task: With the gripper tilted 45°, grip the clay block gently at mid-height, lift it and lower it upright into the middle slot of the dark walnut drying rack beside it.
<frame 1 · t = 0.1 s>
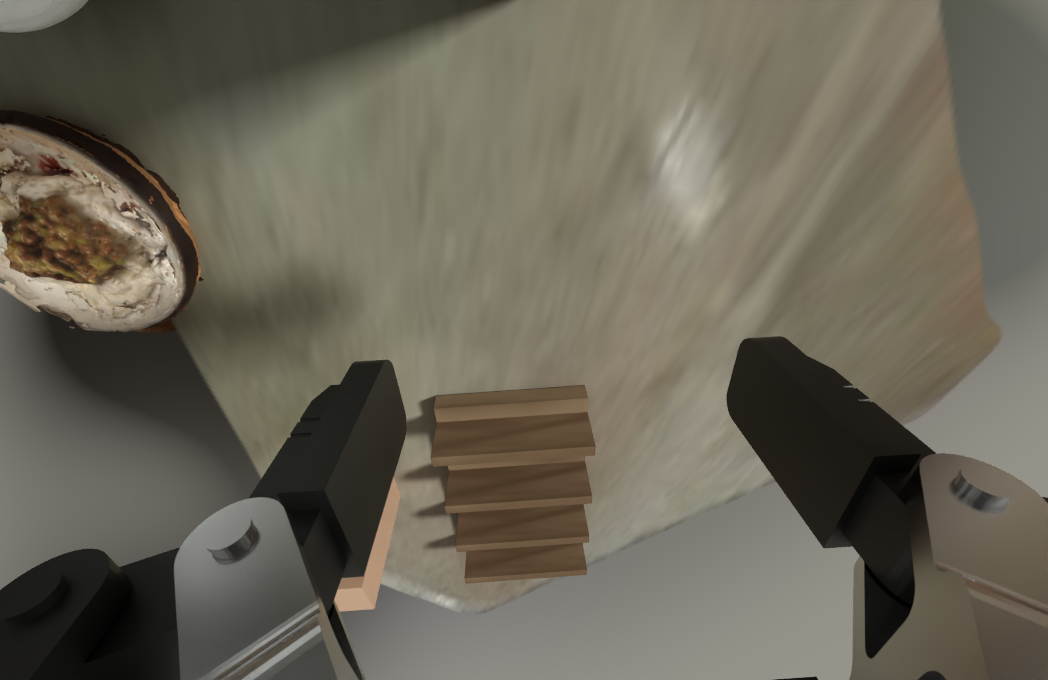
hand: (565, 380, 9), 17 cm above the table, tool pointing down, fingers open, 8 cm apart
walnut rack: (518, 476, 39), on the table
pie: (97, 224, 24), on the table
clay block: (373, 486, 39), on the table
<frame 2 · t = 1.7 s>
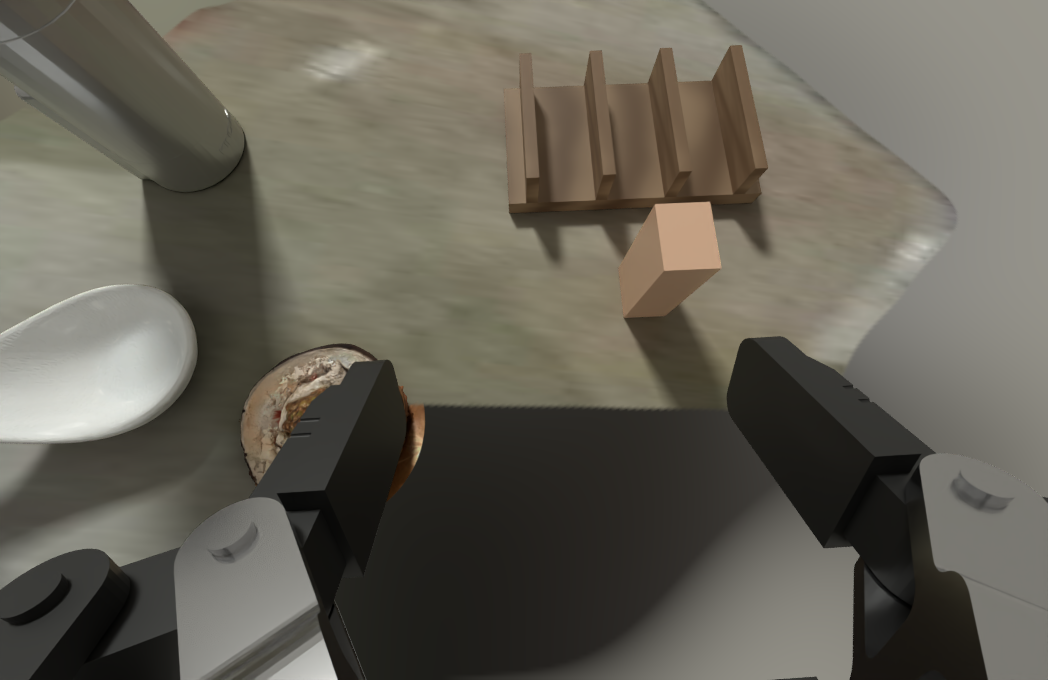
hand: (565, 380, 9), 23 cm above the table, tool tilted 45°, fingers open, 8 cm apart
walnut rack: (624, 150, 38), on the table
spoon rest: (81, 400, 33), on the table
pie: (333, 426, 33), on the table
clay block: (641, 291, 35), on the table
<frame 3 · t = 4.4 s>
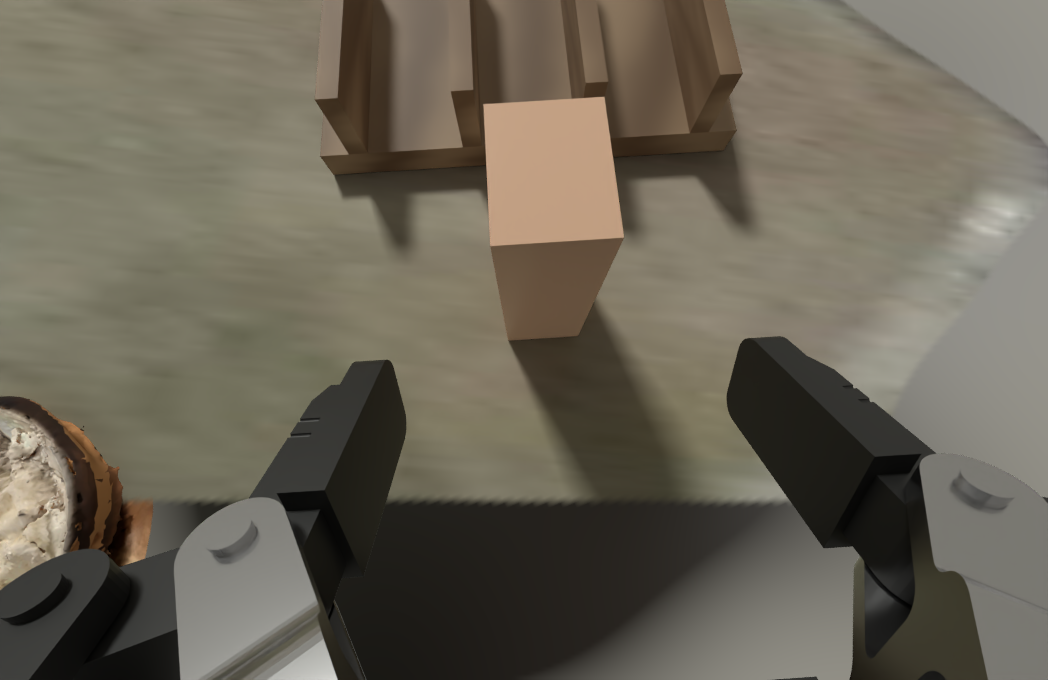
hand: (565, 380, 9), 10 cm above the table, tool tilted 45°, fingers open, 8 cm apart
walnut rack: (522, 76, 24), on the table
clay block: (539, 296, 21), on the table
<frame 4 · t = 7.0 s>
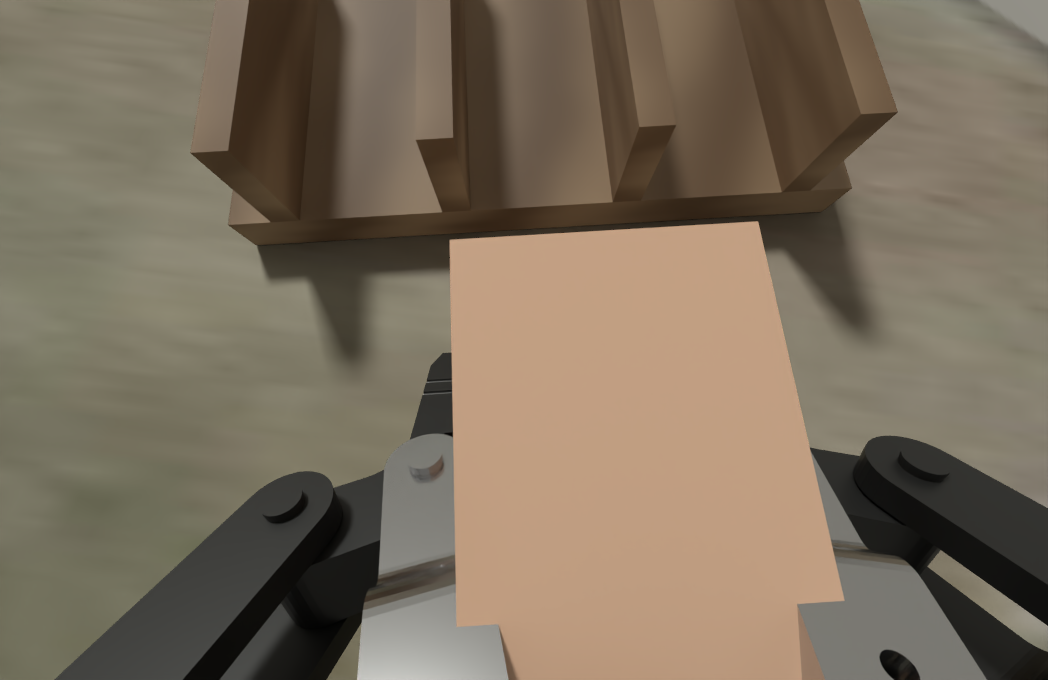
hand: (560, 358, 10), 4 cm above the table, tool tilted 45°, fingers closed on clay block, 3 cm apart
walnut rack: (530, 101, 17), on the table
clay block: (557, 440, 14), on the table, touching gripper
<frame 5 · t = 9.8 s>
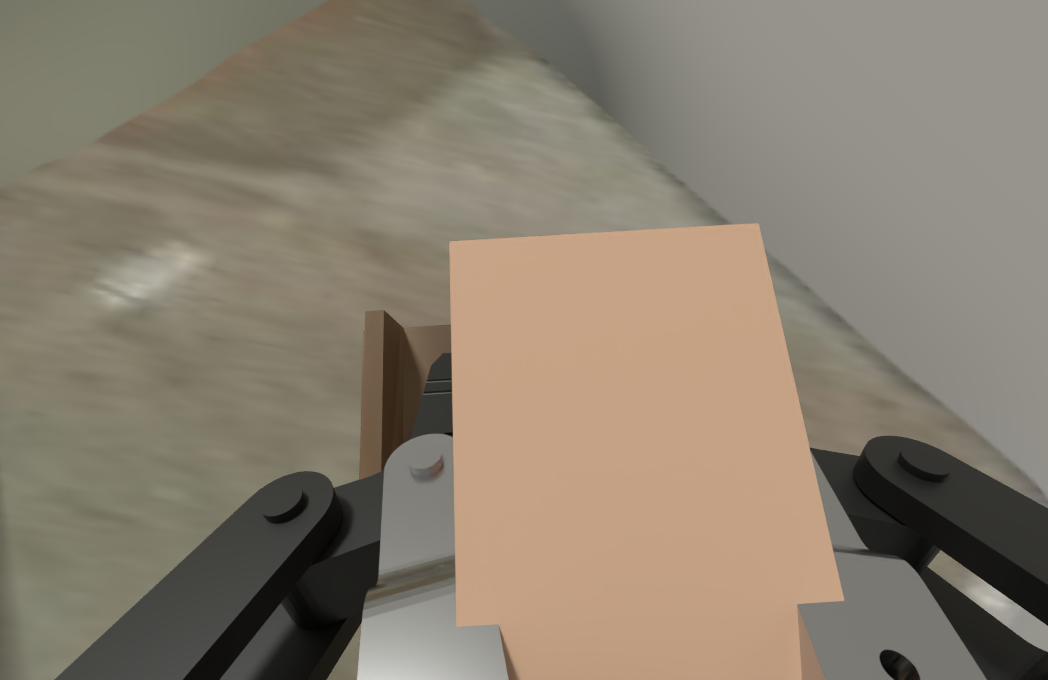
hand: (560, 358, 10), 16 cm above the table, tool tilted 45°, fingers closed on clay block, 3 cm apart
walnut rack: (545, 416, 25), on the table
clay block: (557, 440, 14), point 12 cm above the table, touching gripper
when the fingers open (6 cm above the table, at t = 12.6 s): clay block stays where it is, resting on walnut rack.
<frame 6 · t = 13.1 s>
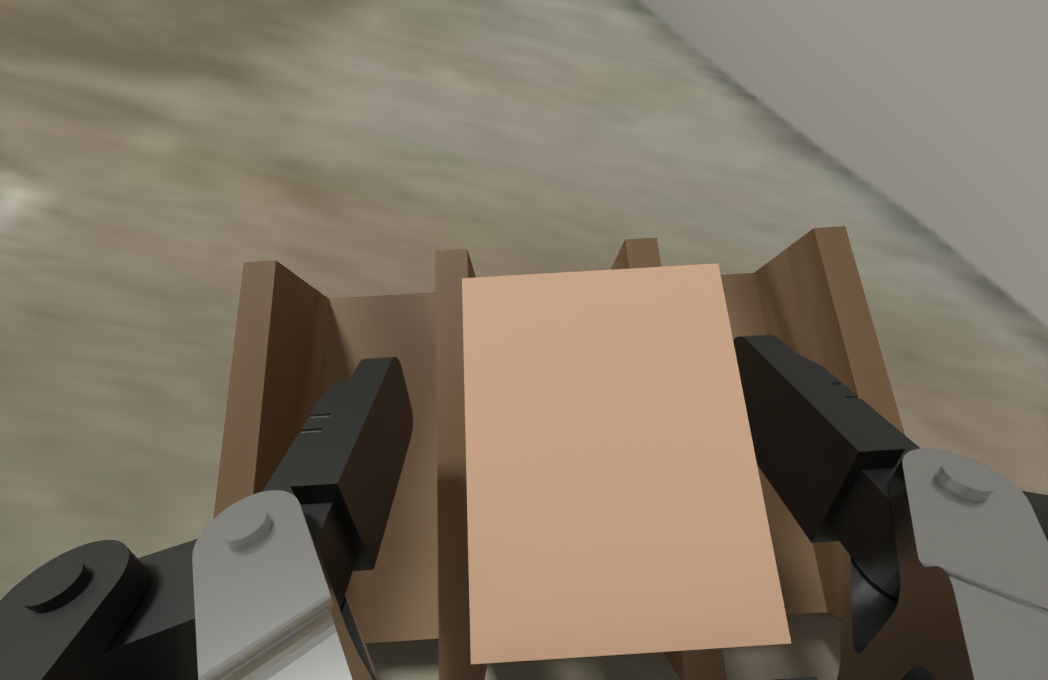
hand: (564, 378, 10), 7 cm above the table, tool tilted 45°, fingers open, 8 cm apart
walnut rack: (551, 440, 16), on the table
clay block: (554, 441, 15), point 1 cm above the table, touching walnut rack
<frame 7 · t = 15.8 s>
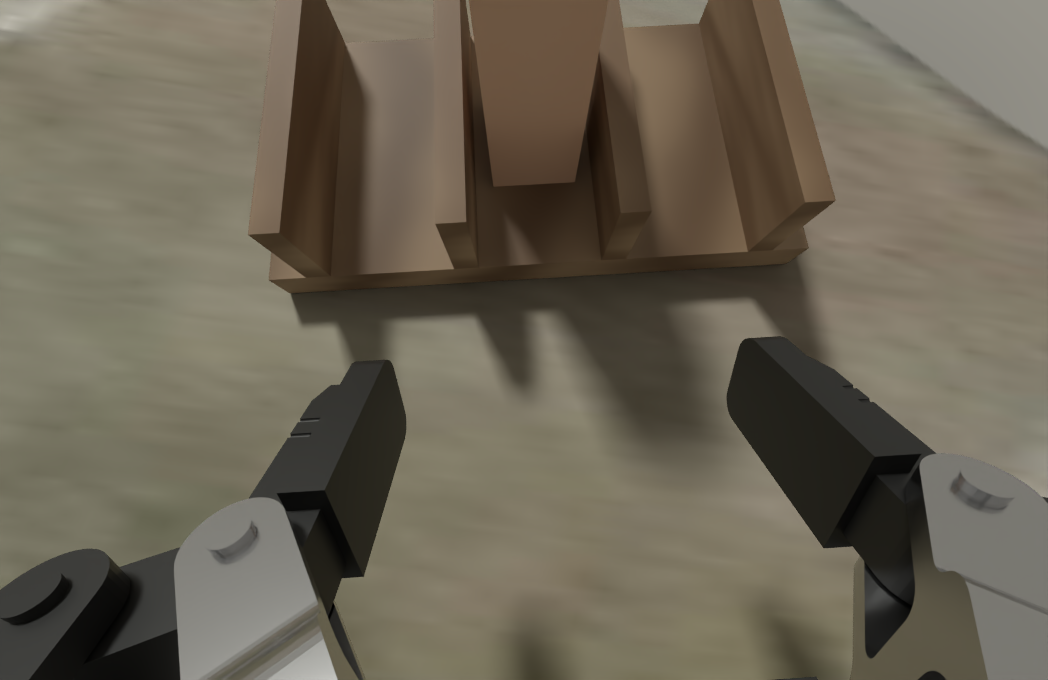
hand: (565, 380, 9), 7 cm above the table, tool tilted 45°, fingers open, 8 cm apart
walnut rack: (530, 161, 19), on the table
clay block: (530, 140, 18), point 1 cm above the table, touching walnut rack
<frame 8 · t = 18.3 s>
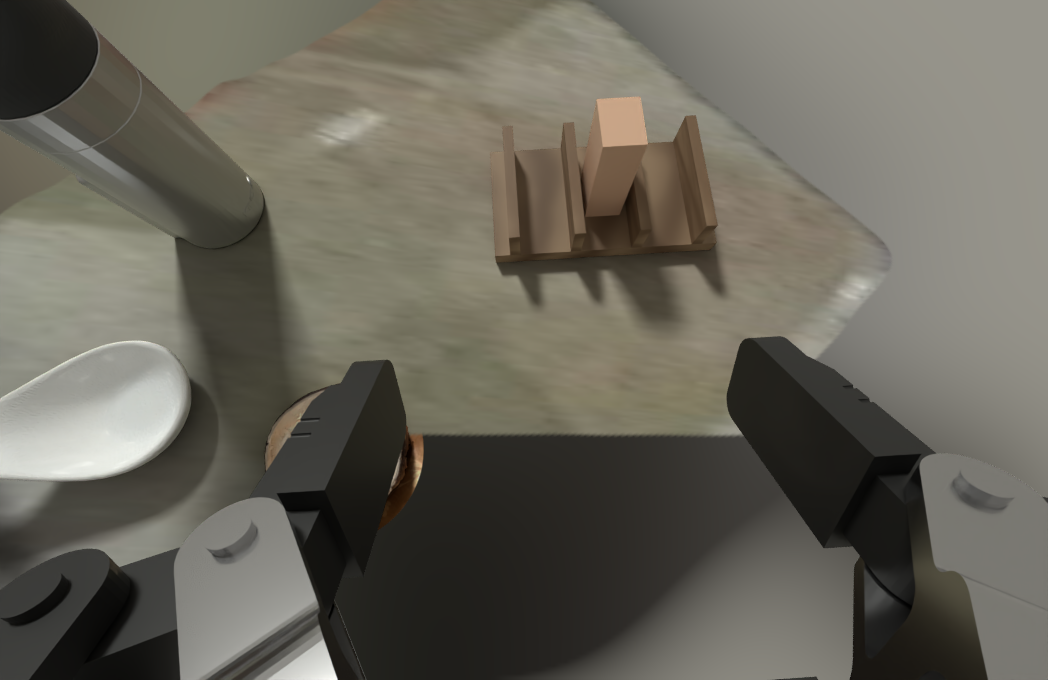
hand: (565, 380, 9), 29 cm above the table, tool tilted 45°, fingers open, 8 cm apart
walnut rack: (597, 204, 43), on the table
spoon rest: (90, 437, 38), on the table
pie: (343, 454, 37), on the table
clay block: (599, 196, 41), point 1 cm above the table, touching walnut rack
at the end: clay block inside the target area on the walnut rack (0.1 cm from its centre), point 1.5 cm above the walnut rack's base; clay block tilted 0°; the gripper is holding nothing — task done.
